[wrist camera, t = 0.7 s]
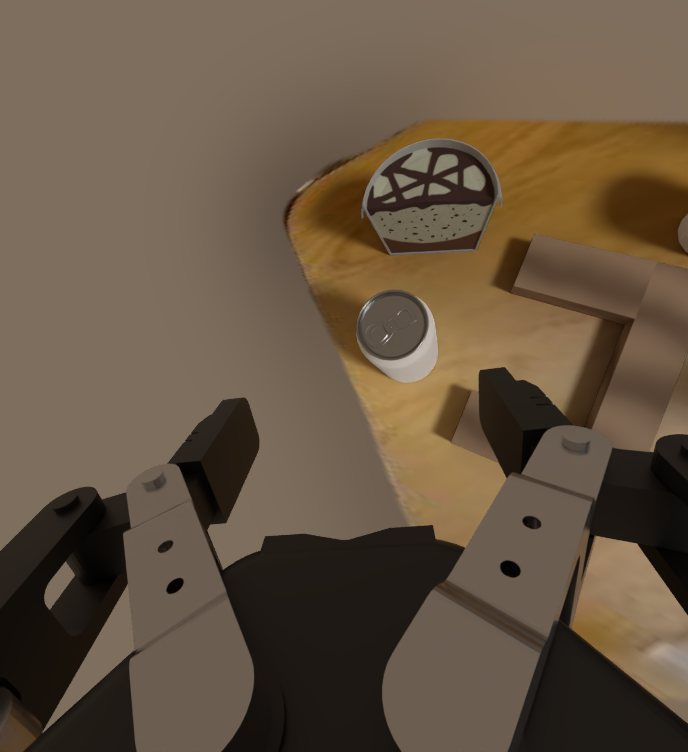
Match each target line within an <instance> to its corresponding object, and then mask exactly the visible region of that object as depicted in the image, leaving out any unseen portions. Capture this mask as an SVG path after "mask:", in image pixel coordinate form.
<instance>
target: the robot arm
mask: <svg viewBox="0 0 688 752" xmlns="http://www.w3.org/2000/svg"><path fill="white" fill-rule="evenodd" d="M479 418H480V423H481V427H482V430H483V432H484V434H485V436H486V438H487V440H488V442H489V444H490V446H491V448H492V450H493V452H494V454H495V456H496V458H497V460H498V462H499V464H500V466H501V468H502V470H503V472H504V474H505V476H506V478H507V480H506V481H505V483H504V485H503V486H502V488H501V490H500V491H499V493H498V495H497V496H496V498H495V500H494V501H493V503H492V505H491V506H490V508H489V510H488V511H487V513H486V515H485V516H484V518H483V520H482V521H481V523H480V525H479V526H478V528H477V530H476V531H475V533H474V535H473V536H472V538H471V540H470V541H469V543H468V545H467V546H466V548H465V547H462V546H459V545H457V544H454V543H450V542H447V541H443V540H437V539H435V534H434V529H433V525H428V526H413V527H400V528H388V529H385V530H381V531H378V532H374V533H371V534H367V535H364V536H361V537H357V538H354V539H350V540H338V539H332V538H326V537H320V536H315V535H309V534H295V535H279V536H266V537H265V539H264V541H263V545H262V548H261V551H258V552H255V553H253V554H250V555H248V556H245V557H244V558H242V559H240V560H238V561H236V562H235V563H233V564H231V565H230V566H228V567H227V568H225V569H224V570H223V568H222V565H221V563H220V560H219V558H218V556H217V553H216V551H215V548H214V546H213V543H212V541H211V538H210V536H209V534H208V531H207V530H208V528H209V526H210V524H221V523H226V522H227V520H228V518H229V516H230V513H231V511H232V509H233V507H234V504H235V502H236V500H237V498H238V496H239V493H240V491H241V488H242V486H243V484H244V482H245V480H246V478H247V475H248V473H249V471H250V468H251V466H252V464H253V462H254V460H255V457H256V455H257V453H258V450H259V435H258V432H257V428H256V426H255V422H254V419H253V416H252V412H251V409H250V406H249V403H248V401H247V400H246V398H236V399H227V400H223V401H222V402H221V403H220V404H219V406H218V407H217V408H216V410H215V411H214V412H213V414H212V415H209V416H208V417H207V418H205V419H204V420H203V421H201V422H200V423H199V424H198V425H197V426H196V427H195V429H194V430H193V431H192V433H191V435H189V436H188V438H187V439H186V442H184V443H183V444H182V445H181V447H180V448H179V449H178V451H177V452H176V453H175V455H174V456H173V457H172V458H171V460H170V461H169V462H168V463H167V464H163V465H159V466H155V467H153V468H150V469H148V470H146V471H144V472H143V473H141V474H140V475H138V476H137V477H136V478H135V479H134V480H133V481H132V482H131V483H130V484H129V486H128V488H127V490H126V493H122V494H119V495H116V496H112V497H109V498H106V499H101V497H100V496H99V494H98V492H97V491H96V489H95V488H93V487H82V488H78V489H75V490H72V491H70V492H67V493H65V494H63V495H61V496H60V497H58V498H56V499H54V500H53V501H52V502H50V503H49V504H48V505H46V506H45V507H44V508H43V509H42V510H41V511H40V512H39V513H38V514H37V515H36V516H35V517H34V518H33V519H32V520H31V521H30V522H29V523H28V524H27V525H26V526H25V527H24V528H23V529H22V530H21V531H20V532H19V533H18V534H17V535H16V536H15V537H14V538H13V539H12V540H11V541H10V542H9V543H8V544H7V545H6V546H5V547H4V548H3V549H2V550H1V551H0V752H688V723H687V722H685V721H684V720H683V719H682V718H680V717H679V716H678V715H677V714H675V713H674V712H673V711H671V710H670V709H669V708H668V707H667V706H666V705H664V704H663V703H662V702H661V701H659V700H658V699H657V698H656V697H655V696H653V695H652V694H651V693H650V692H648V691H647V690H646V689H645V688H643V687H642V686H641V685H640V684H639V683H637V682H636V681H635V680H634V679H632V678H631V677H630V676H629V675H627V674H626V673H625V672H624V671H623V670H621V669H620V668H619V667H618V666H616V665H615V664H614V663H613V662H611V661H610V660H609V659H608V658H606V657H605V656H604V655H603V654H602V653H600V652H599V651H598V650H597V649H595V648H594V647H593V646H592V645H590V644H589V643H588V642H587V641H586V640H584V639H583V638H582V637H581V636H579V635H578V634H577V633H576V632H574V631H573V630H572V626H573V622H574V618H575V613H576V608H577V604H578V600H579V596H580V592H581V588H582V585H583V581H584V578H585V574H586V571H587V567H588V564H589V560H590V557H591V553H592V550H593V546H594V543H595V539H596V536H600V537H605V538H611V539H616V540H622V541H627V542H632V543H637V544H638V546H639V547H640V548H641V550H642V551H643V553H644V554H645V556H646V557H647V558H648V560H649V561H650V563H651V564H652V565H653V567H654V568H655V570H656V571H657V573H658V574H659V575H660V577H661V578H662V580H663V581H664V582H665V584H666V585H667V587H668V588H669V589H670V591H671V592H672V594H673V595H674V597H675V598H676V599H677V601H678V602H679V604H680V605H681V606H682V608H683V609H684V611H685V612H686V614H687V615H688V435H684V434H675V435H668V436H664V437H662V438H660V439H658V441H657V442H656V445H655V449H654V452H645V451H634V450H624V449H617V448H612V446H611V443H610V441H609V440H608V439H607V438H606V437H604V436H603V435H602V434H600V433H598V432H596V431H594V430H591V429H588V428H584V427H579V426H574V425H573V424H572V423H571V422H570V421H569V420H568V419H567V418H566V417H565V416H564V415H563V414H562V412H561V411H560V410H559V409H558V408H557V407H556V406H555V405H553V404H552V402H551V401H550V399H549V398H548V397H546V395H545V394H544V393H543V392H542V391H541V390H540V389H539V387H537V386H535V385H533V384H531V383H529V382H527V381H525V380H519V381H516V380H515V379H514V378H513V376H512V375H511V374H510V373H509V372H508V370H507V369H506V368H504V367H502V368H494V369H485V370H480V372H479ZM65 561H66V562H67V564H68V565H69V567H70V568H71V569H72V571H73V572H74V574H75V576H74V578H73V579H72V580H71V582H70V583H69V585H68V586H67V587H66V589H65V590H64V591H63V593H62V594H61V595H60V597H59V598H58V600H57V601H56V602H55V604H54V605H53V606H52V608H51V609H50V610H49V609H48V608H47V607H46V605H45V602H44V594H45V590H46V587H47V585H48V583H49V582H50V580H51V579H52V578H53V576H54V575H55V574H56V573H57V571H58V570H59V569H60V568H61V566H62V565H63V564H64V562H65ZM127 584H128V588H129V598H130V608H131V618H132V628H133V638H134V651H133V652H132V653H131V654H130V655H128V656H127V657H126V658H125V659H124V660H123V661H122V662H121V663H120V664H119V665H117V666H116V667H115V668H114V669H113V670H112V671H111V672H110V673H109V674H108V675H106V676H105V677H104V678H103V679H102V680H101V681H100V682H99V683H98V684H97V685H95V686H94V687H93V688H92V689H91V690H90V691H89V692H88V693H87V694H86V695H84V696H83V697H82V698H81V699H80V700H79V701H78V702H77V703H76V704H74V705H73V706H72V707H71V708H70V709H69V710H68V711H67V712H66V713H65V714H64V715H62V716H61V717H60V718H59V719H58V720H57V721H56V722H55V723H54V724H52V725H51V726H50V727H49V728H48V729H47V730H46V731H45V732H44V733H43V730H44V728H45V727H46V725H47V723H48V721H49V719H50V718H51V716H52V714H53V712H54V711H55V709H56V707H57V705H58V704H59V702H60V700H61V699H62V697H63V695H64V694H65V692H66V690H67V688H68V687H69V685H70V683H71V681H72V680H73V678H74V676H75V674H76V672H77V671H78V669H79V667H80V666H81V664H82V662H83V661H84V659H85V657H86V655H87V654H88V652H89V650H90V648H91V647H92V645H93V643H94V641H95V640H96V638H97V636H98V635H99V633H100V631H101V629H102V628H103V626H104V624H105V622H106V621H107V619H108V617H109V615H110V614H111V612H112V610H113V609H114V607H115V605H116V603H117V602H118V600H119V598H120V597H121V595H122V593H123V591H124V590H125V588H126V586H127Z"/></svg>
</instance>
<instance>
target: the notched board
mask: <svg viewBox="0 0 688 752" xmlns="http://www.w3.org/2000/svg"><path fill="white" fill-rule="evenodd" d="M511 293H512V294H516V295H519V296H523V297H527V298H530V299H534V300H537V301H541V302H545V303H548V304H552V305H555V306H559V307H563V308H566V309H570V310H573V311H577V312H580V313H584V314H588V315H591V316H595V317H598V318H602V319H606V320H609V321H613V322H616V323H620V324H624V327H623V330H622V332H621V335H620V338H619V340H618V343H617V345H616V348H615V350H614V353H613V355H612V358H611V361H610V363H609V366H608V368H607V371H606V373H605V376H604V378H603V381H602V384H601V386H600V389H599V391H598V394H597V396H596V399H595V401H594V404H593V407H592V409H591V412H590V414H589V417H588V419H587V422H586V424H585V427H584V428H588V429H591V430H594V431H596V432H598V433H600V434H602V435H603V436H604V437H606V438H607V439H608V440H609V441H610V443H611V446H612V448H617V449H624V450H634V451H645V452H649V451H650V449H651V446H652V444H653V441H654V439H655V436H656V433H657V431H658V428H659V426H660V423H661V420H662V418H663V415H664V413H665V410H666V408H667V405H668V402H669V400H670V397H671V395H672V392H673V389H674V387H675V384H676V382H677V379H678V377H679V374H680V371H681V369H682V366H683V364H684V361H685V358H686V356H687V353H688V269H687V268H682V267H678V266H673V265H669V264H664V263H660V262H656V261H651V260H647V259H642V258H638V257H633V256H629V255H625V254H620V253H616V252H611V251H607V250H603V249H598V248H594V247H589V246H585V245H580V244H576V243H572V242H567V241H563V240H558V239H554V238H549V237H545V236H541V235H536V234H534V236H533V238H532V241H531V243H530V245H529V248H528V250H527V253H526V255H525V258H524V260H523V263H522V265H521V268H520V270H519V273H518V275H517V278H516V280H515V283H514V285H513V288H512V290H511ZM451 443H453V444H455V445H457V446H460V447H462V448H464V449H467V450H469V451H472V452H474V453H476V454H479V455H481V456H483V457H486V458H488V459H491V460H493V461H495V462H498V460H497V458H496V456H495V454H494V452H493V450H492V448H491V446H490V444H489V442H488V440H487V438H486V436H485V434H484V432H483V430H482V427H481V423H480V418H479V393H478V392H476V391H473V390H472V391H471V393H470V396H469V398H468V401H467V403H466V406H465V408H464V411H463V413H462V416H461V418H460V421H459V423H458V426H457V428H456V431H455V433H454V436H453V438H452V441H451ZM498 463H499V462H498Z"/></svg>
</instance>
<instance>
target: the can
mask: <svg viewBox="0 0 688 752" xmlns="http://www.w3.org/2000/svg"><path fill="white" fill-rule="evenodd" d="M356 337H357V342H358V345H359V347H360V349H361V351H362V353H363V354H364V356H365V357H366V358H367V359H368V360H369V361H370V362H371V363H373V364H374V365H375V366H376V367H377V368H379V369H380V370H381V371H382V372H383V373H385V374H386V375H387V376H388V377H390V378H391V379H393V380H395V381H398V382H403V383H410V382H415V381H418V380H421V379H423V378H424V377H426V376H427V375H428V374H429V373H430V372H431V371H432V369H433V368H434V366H435V364H436V361H437V357H438V345H437V336H436V328H435V322H434V319H433V316H432V313H431V311H430V310H429V308H428V307H427V305H426V304H425V303H424V302H423V301H422V300H420V299H419V298H418V297H416V296H414V295H412V294H411V293H408V292H406V291H402V290H387V291H383V292H381V293H378V294H376V295H375V296H373V297H372V298H370V299H369V300H368V301H367V302H366V303H365V304H364V306H363V307H362V309H361V310H360V313H359V315H358V318H357V323H356Z"/></svg>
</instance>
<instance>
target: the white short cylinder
mask: <svg viewBox="0 0 688 752" xmlns="http://www.w3.org/2000/svg"><path fill="white" fill-rule="evenodd" d="M678 241H679V243H680V245H681V246H682V248H683V249H684V250H685V252H687V253H688V214H687V215H686V216H685V217H684V218H683V219H682V221H681V223H680V226H679V228H678Z"/></svg>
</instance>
